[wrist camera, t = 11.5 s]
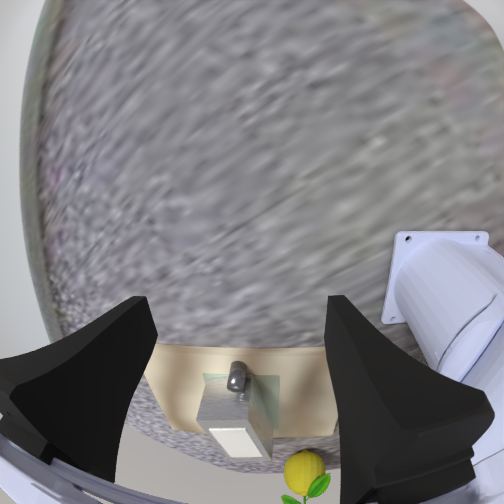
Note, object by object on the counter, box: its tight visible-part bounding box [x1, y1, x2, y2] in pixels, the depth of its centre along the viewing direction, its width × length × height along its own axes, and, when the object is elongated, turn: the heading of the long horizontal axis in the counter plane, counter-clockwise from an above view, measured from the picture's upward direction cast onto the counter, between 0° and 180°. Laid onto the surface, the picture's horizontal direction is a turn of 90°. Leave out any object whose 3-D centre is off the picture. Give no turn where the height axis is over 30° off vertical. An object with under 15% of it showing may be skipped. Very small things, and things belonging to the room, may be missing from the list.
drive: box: [196, 374, 274, 462], centre depth 23 cm, size 4×9×5 cm, turn 15°
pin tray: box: [144, 343, 338, 438], centre depth 25 cm, size 20×15×4 cm
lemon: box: [281, 449, 330, 504], centre depth 27 cm, size 7×6×10 cm
